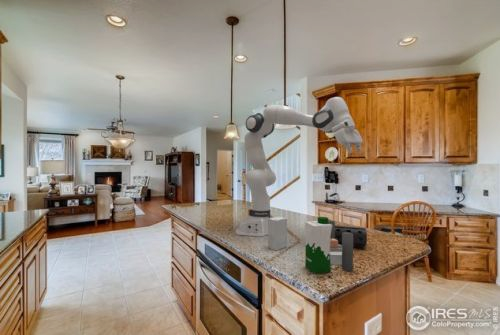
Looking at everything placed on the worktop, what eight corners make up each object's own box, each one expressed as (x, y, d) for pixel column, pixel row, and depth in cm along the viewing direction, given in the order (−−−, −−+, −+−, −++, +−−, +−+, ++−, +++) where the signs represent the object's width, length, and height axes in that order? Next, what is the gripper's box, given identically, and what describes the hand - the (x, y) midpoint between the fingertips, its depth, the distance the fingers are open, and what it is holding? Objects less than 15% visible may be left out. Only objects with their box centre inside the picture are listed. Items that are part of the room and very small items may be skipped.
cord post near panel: (327, 251, 112) (327, 222, 112) (324, 249, 116) (325, 220, 116) (335, 252, 112) (336, 222, 112) (333, 249, 116) (333, 220, 116)
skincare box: (278, 244, 122) (278, 215, 122) (287, 247, 117) (287, 217, 118) (266, 248, 116) (267, 217, 117) (275, 251, 112) (276, 219, 112)
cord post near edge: (344, 271, 90) (344, 234, 90) (340, 267, 94) (340, 232, 94) (354, 271, 90) (354, 235, 90) (350, 267, 94) (350, 232, 94)
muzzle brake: (366, 251, 114) (367, 229, 114) (307, 245, 122) (307, 225, 122) (363, 245, 123) (363, 225, 123) (308, 240, 131) (308, 221, 132)
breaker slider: (330, 250, 102) (331, 240, 102) (328, 247, 105) (328, 238, 105) (337, 250, 101) (338, 240, 102) (335, 247, 104) (335, 238, 105)
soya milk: (334, 273, 89) (334, 219, 89) (312, 275, 87) (312, 220, 87) (322, 264, 97) (322, 215, 97) (301, 265, 95) (302, 216, 95)
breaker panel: (324, 264, 97) (324, 250, 97) (316, 252, 111) (316, 240, 111) (351, 265, 96) (352, 251, 96) (340, 253, 110) (340, 241, 110)
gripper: (348, 130, 126) (358, 154, 123) (329, 128, 112) (339, 155, 109) (360, 125, 121) (370, 149, 118) (341, 122, 108) (352, 150, 105)
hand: (355, 152), depth 114 cm, fingers open, 8 cm apart
